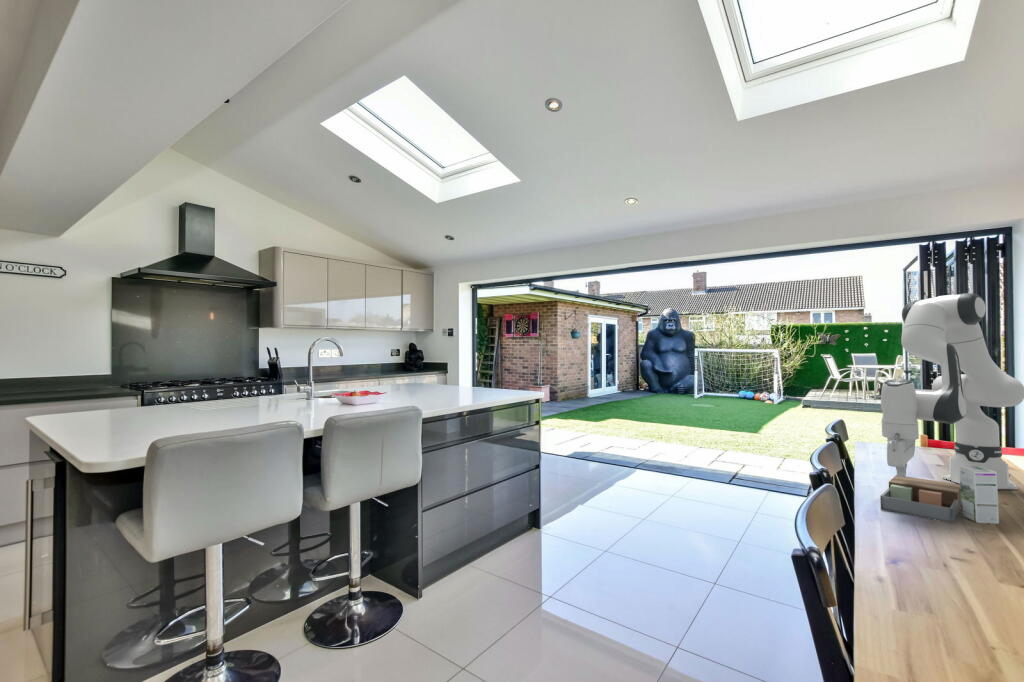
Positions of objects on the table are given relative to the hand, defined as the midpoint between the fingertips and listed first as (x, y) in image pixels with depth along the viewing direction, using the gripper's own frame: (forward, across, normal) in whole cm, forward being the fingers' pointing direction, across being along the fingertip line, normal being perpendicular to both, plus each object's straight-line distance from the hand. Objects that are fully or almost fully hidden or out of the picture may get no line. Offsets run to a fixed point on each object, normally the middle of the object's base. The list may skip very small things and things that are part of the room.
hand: (901, 476), depth 145 cm
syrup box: (+9, 0, -17) cm, 19 cm away
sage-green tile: (+6, +2, 0) cm, 6 cm away
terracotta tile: (+6, +2, -6) cm, 9 cm away
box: (+9, -3, -4) cm, 10 cm away
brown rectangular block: (+9, +9, -4) cm, 13 cm away
